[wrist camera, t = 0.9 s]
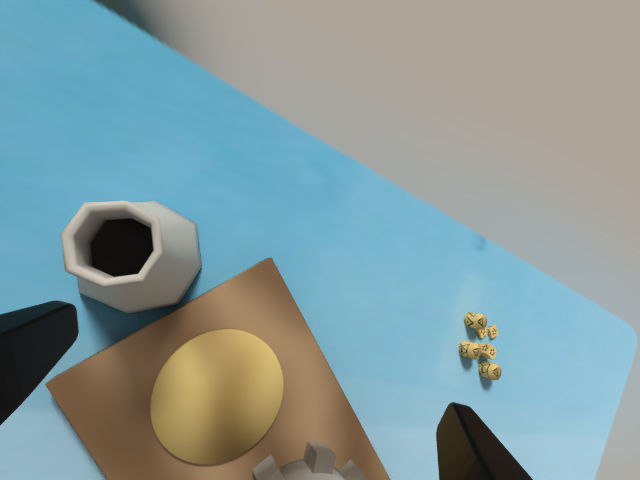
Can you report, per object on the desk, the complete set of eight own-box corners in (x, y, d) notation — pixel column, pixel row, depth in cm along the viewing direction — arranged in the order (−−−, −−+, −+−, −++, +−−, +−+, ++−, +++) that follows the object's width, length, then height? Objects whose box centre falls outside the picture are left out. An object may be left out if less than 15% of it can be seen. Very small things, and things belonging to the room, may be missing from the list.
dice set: (481, 377, 32) (498, 383, 30) (445, 356, 30) (462, 361, 29) (495, 329, 33) (513, 332, 32) (462, 307, 32) (479, 309, 30)
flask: (190, 319, 21) (199, 355, 12) (57, 305, 19) (-58, 338, 9) (212, 214, 23) (236, 175, 13) (91, 186, 20) (18, 114, 11)
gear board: (237, 660, 21) (251, 749, 17) (53, 377, 18) (19, 405, 14) (392, 492, 26) (429, 530, 22) (267, 258, 24) (284, 255, 20)
